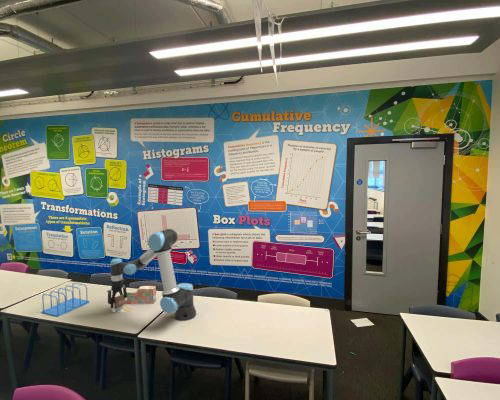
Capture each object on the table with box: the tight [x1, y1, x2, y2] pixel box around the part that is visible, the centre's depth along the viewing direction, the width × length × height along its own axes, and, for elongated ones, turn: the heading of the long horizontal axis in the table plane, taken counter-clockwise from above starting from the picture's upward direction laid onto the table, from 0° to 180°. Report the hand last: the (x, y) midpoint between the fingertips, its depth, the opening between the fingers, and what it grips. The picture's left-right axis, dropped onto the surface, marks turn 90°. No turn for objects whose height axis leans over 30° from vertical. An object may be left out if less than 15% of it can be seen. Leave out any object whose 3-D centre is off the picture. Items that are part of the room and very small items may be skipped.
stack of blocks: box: [126, 285, 157, 305], centre depth 216 cm, size 21×6×12 cm, turn 90°
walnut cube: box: [114, 294, 127, 309], centre depth 198 cm, size 6×6×6 cm
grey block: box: [110, 307, 122, 313], centre depth 204 cm, size 6×6×8 cm
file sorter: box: [41, 282, 90, 318], centre depth 206 cm, size 25×17×15 cm
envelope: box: [108, 304, 135, 313], centre depth 201 cm, size 16×16×1 cm
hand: (117, 309), depth 200 cm, fingers closed on walnut cube, 6 cm apart
